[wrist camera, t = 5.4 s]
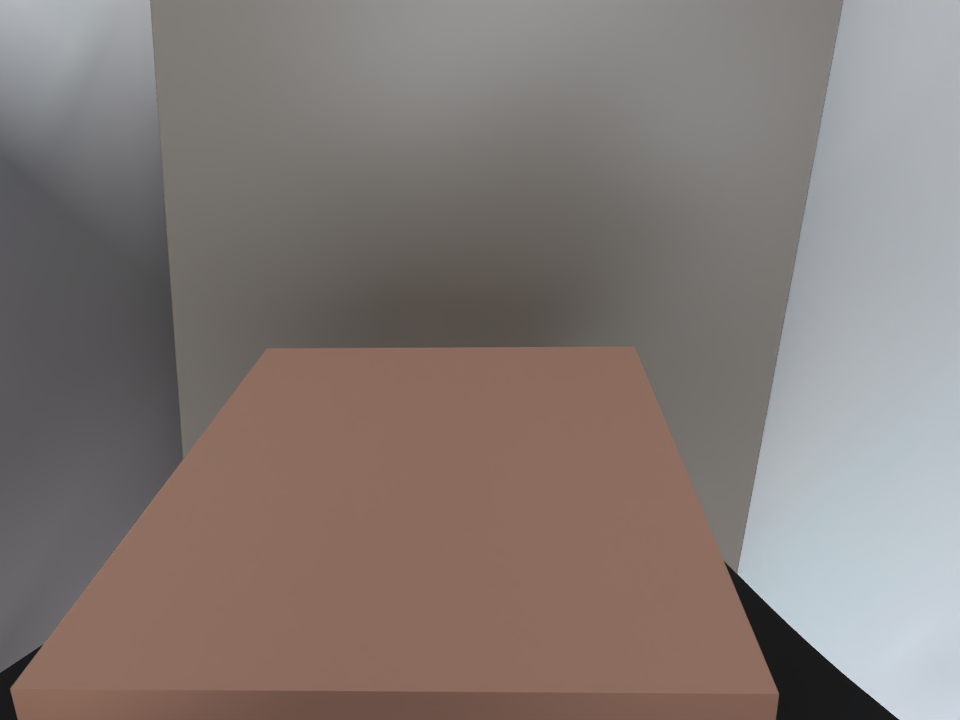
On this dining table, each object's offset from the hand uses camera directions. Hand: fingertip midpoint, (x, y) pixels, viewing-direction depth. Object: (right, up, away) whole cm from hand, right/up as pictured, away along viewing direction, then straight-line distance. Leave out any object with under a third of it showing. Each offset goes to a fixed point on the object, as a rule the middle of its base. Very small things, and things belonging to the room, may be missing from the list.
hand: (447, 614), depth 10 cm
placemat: (0, +3, +8) cm, 9 cm away
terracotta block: (0, +1, +2) cm, 2 cm away
